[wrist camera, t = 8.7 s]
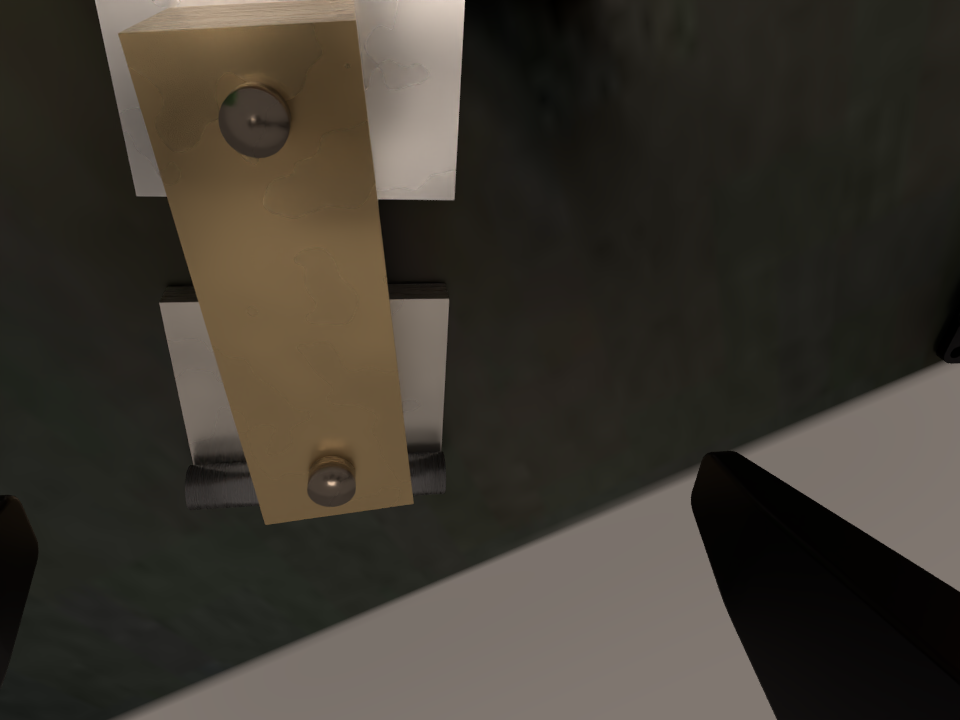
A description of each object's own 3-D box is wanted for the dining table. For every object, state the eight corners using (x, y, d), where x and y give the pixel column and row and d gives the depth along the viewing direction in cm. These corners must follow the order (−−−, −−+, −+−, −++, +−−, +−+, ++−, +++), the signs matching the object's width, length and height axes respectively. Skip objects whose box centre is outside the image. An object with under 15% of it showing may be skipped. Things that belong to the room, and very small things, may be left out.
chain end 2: (445, 283, 21) (455, 322, 19) (436, 456, 24) (444, 504, 22) (166, 286, 19) (146, 328, 17) (204, 469, 23) (190, 522, 21)
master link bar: (353, -2, 15) (356, 25, 11) (403, 415, 22) (415, 519, 18) (169, 7, 15) (106, 38, 11) (278, 430, 21) (263, 541, 18)
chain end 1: (464, -115, 15) (481, -120, 13) (449, 187, 19) (461, 219, 17) (78, -152, 14) (34, -164, 12) (146, 183, 17) (120, 216, 16)
